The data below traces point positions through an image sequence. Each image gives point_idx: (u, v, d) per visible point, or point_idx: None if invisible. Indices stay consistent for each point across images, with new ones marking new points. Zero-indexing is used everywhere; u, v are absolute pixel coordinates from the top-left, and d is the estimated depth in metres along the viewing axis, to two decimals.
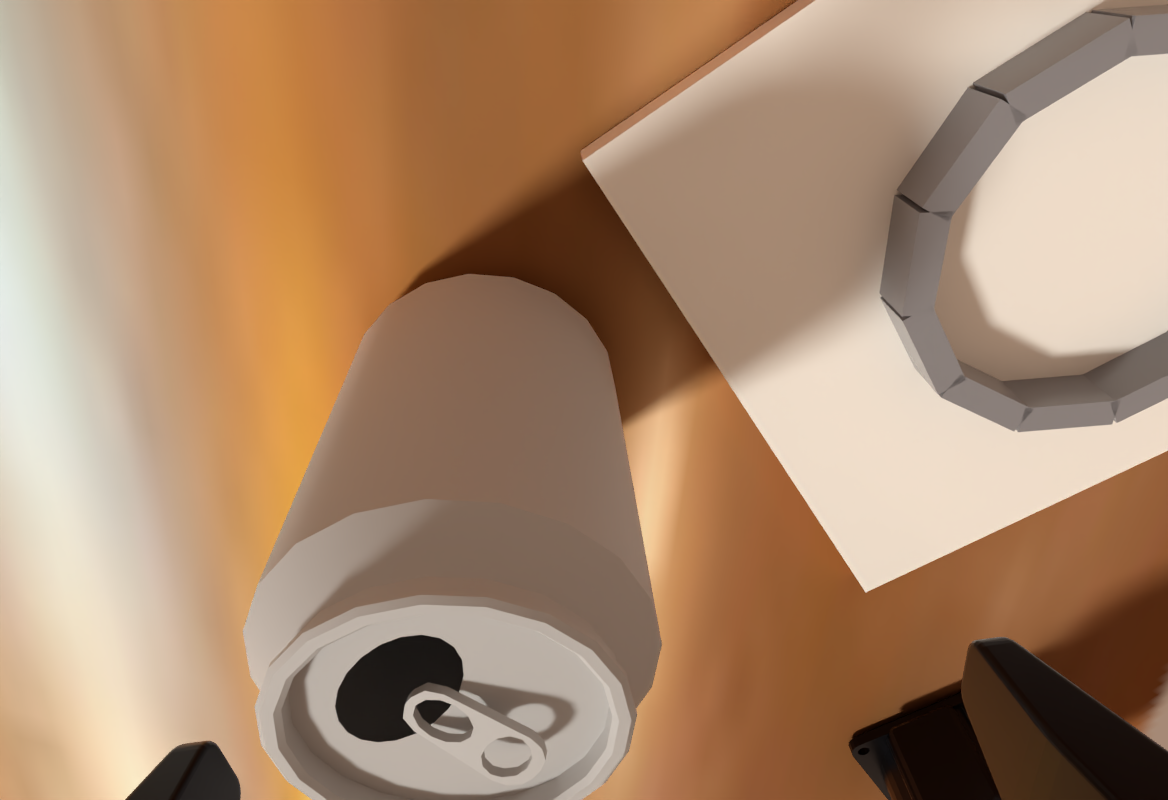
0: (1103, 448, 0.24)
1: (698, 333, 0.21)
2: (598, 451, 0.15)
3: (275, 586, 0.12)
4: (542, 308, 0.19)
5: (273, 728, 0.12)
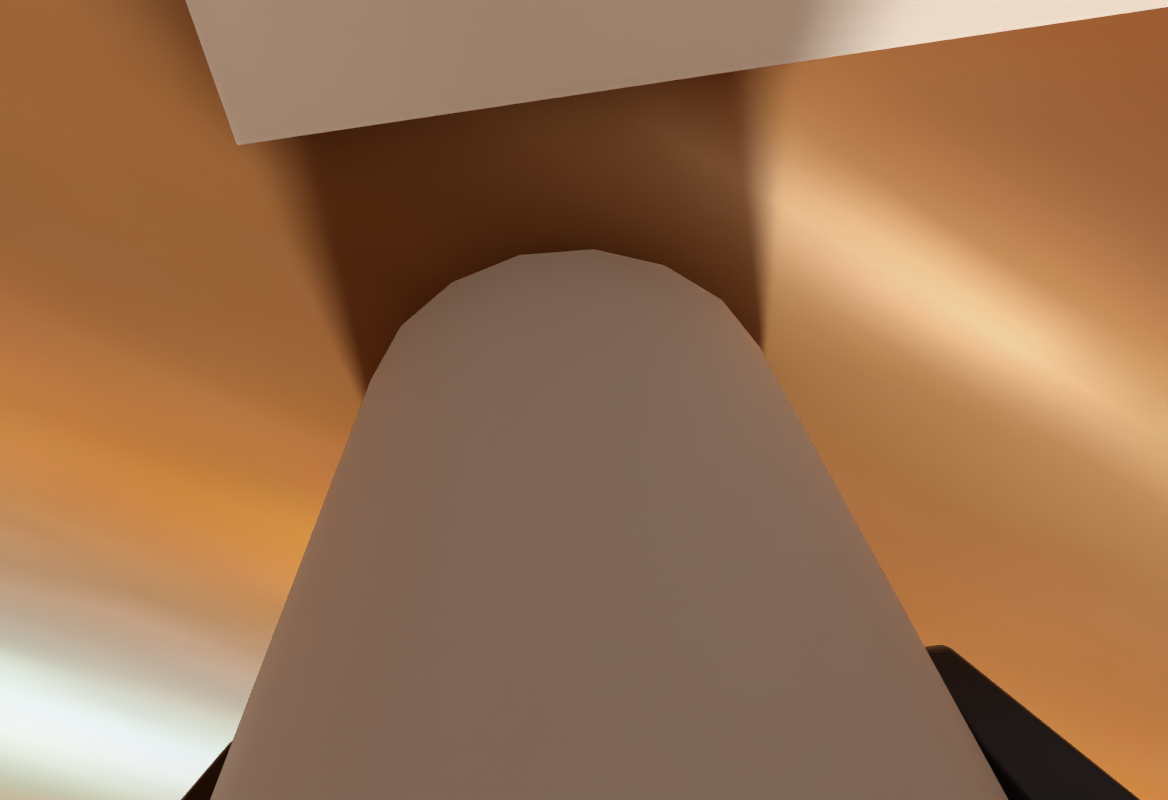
0: None
1: (636, 81, 0.11)
2: (479, 531, 0.07)
3: None
4: (426, 329, 0.11)
5: None
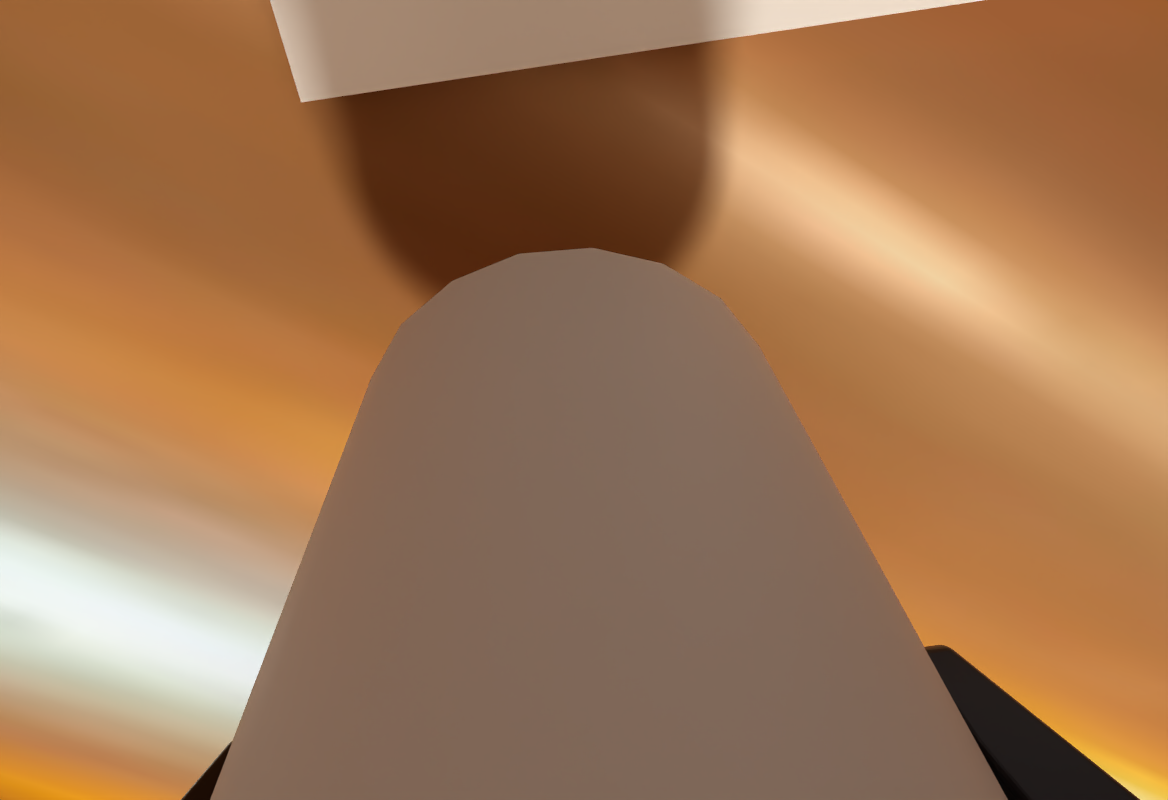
0: None
1: (619, 51, 0.13)
2: (479, 526, 0.07)
3: None
4: (426, 328, 0.11)
5: None
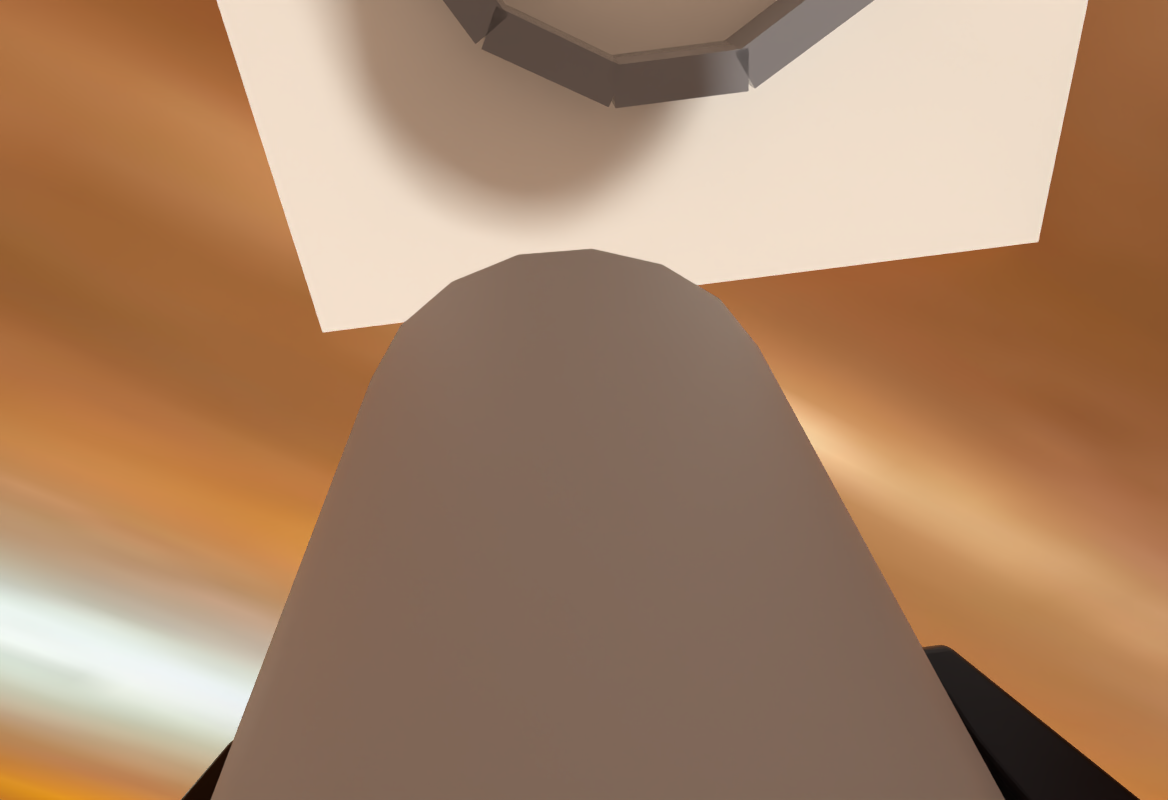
0: None
1: None
2: (478, 527, 0.07)
3: None
4: (426, 329, 0.11)
5: None
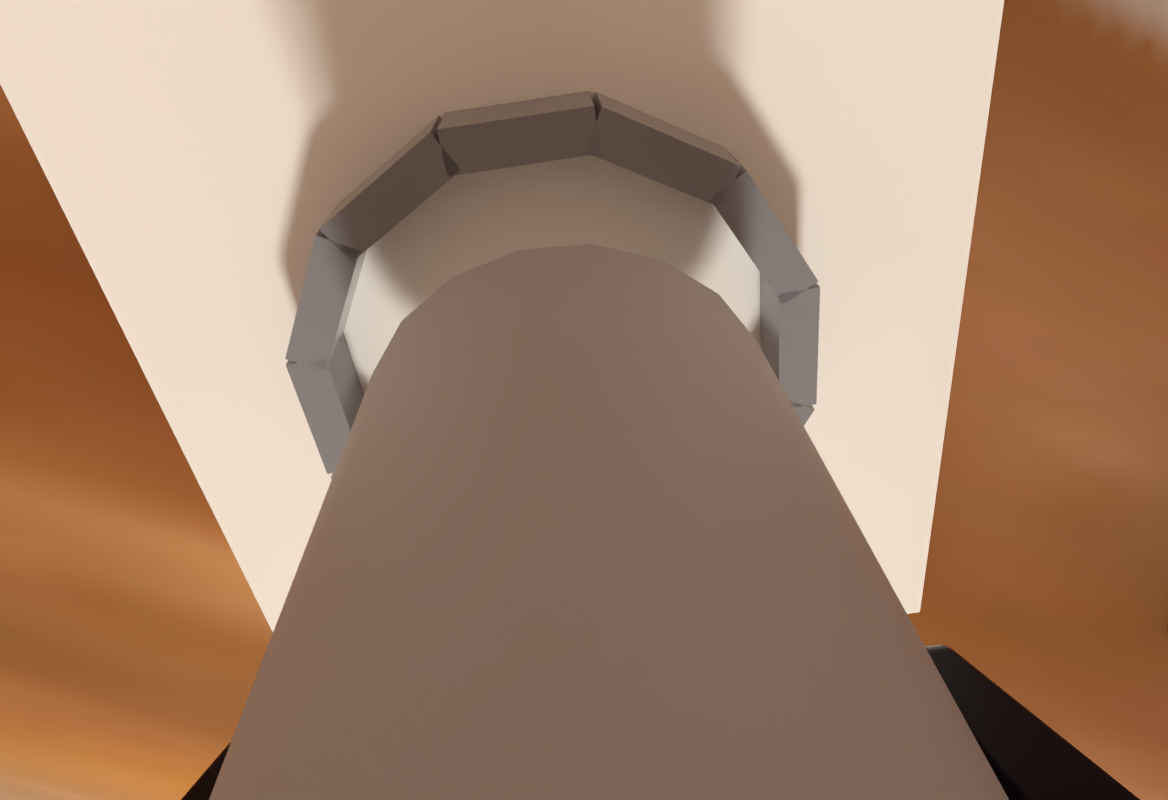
0: (899, 355, 0.18)
1: None
2: (479, 517, 0.07)
3: None
4: (426, 324, 0.11)
5: None
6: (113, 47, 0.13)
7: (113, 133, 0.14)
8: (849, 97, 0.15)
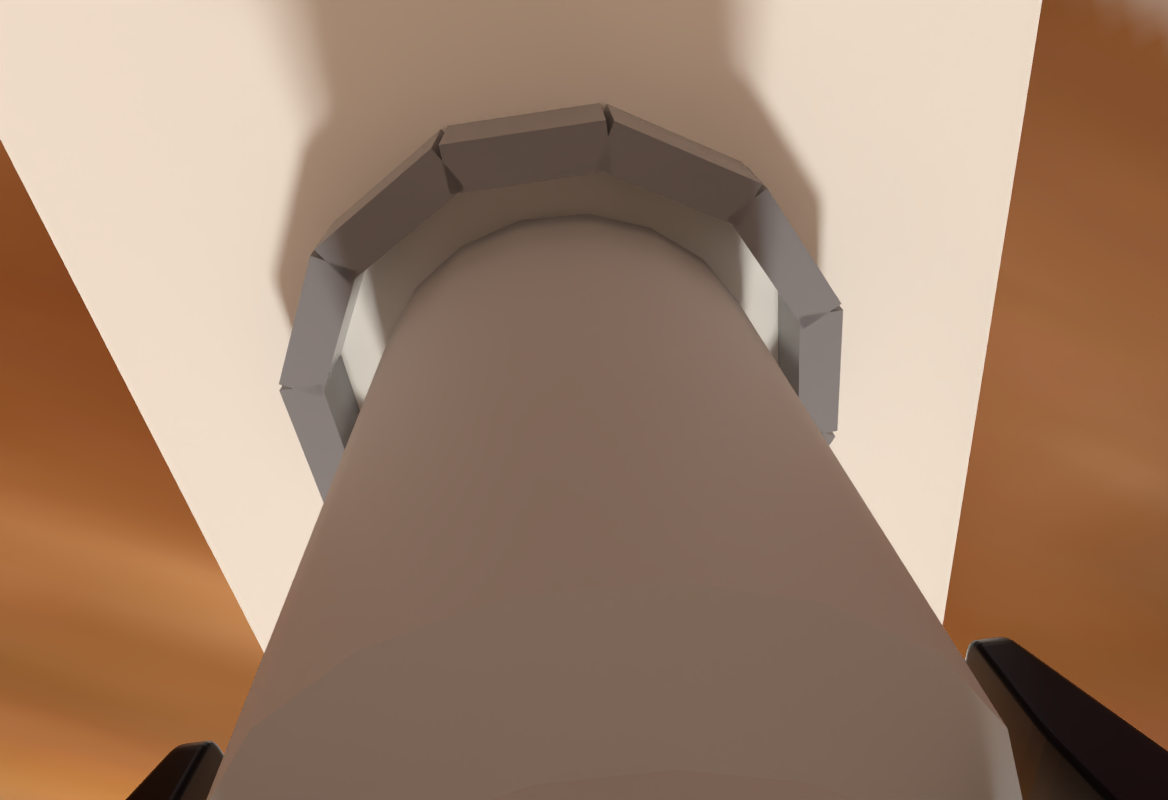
0: (923, 378, 0.17)
1: None
2: (492, 404, 0.08)
3: None
4: (439, 283, 0.13)
5: None
6: (97, 57, 0.13)
7: (98, 147, 0.13)
8: (875, 109, 0.14)
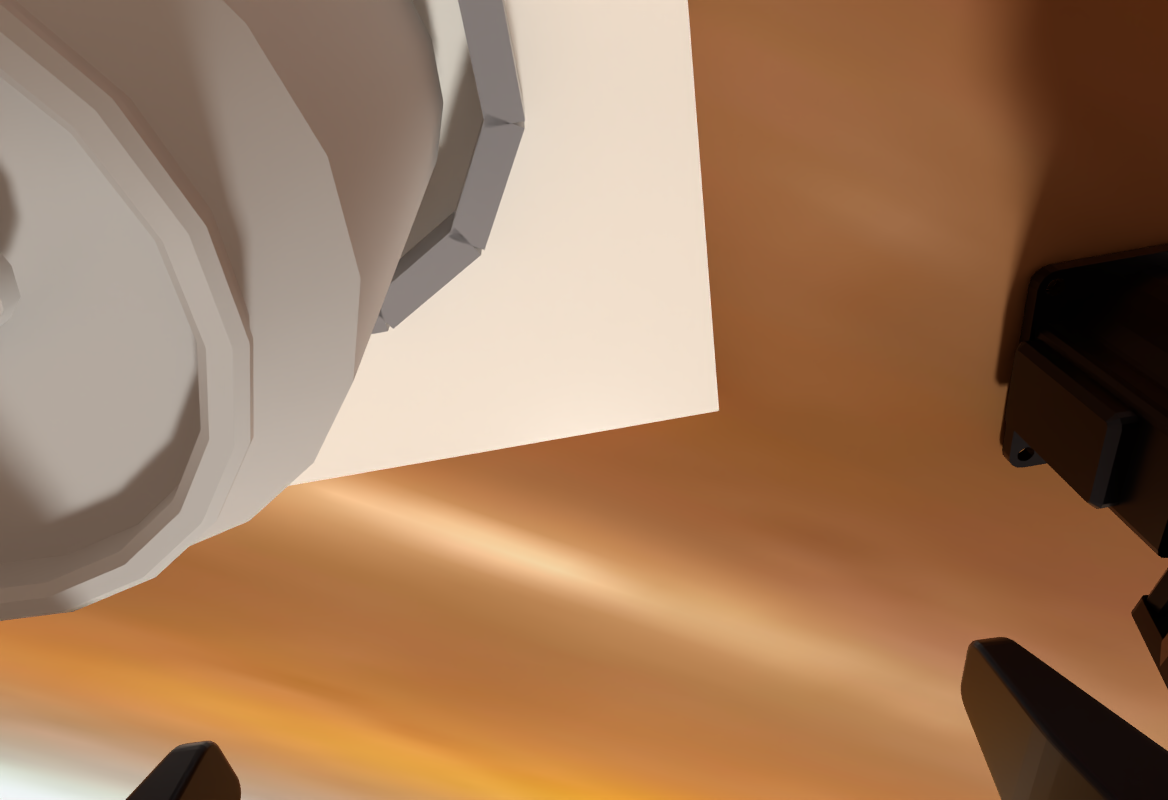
0: (633, 86, 0.16)
1: None
2: None
3: None
4: None
5: None
6: None
7: None
8: None
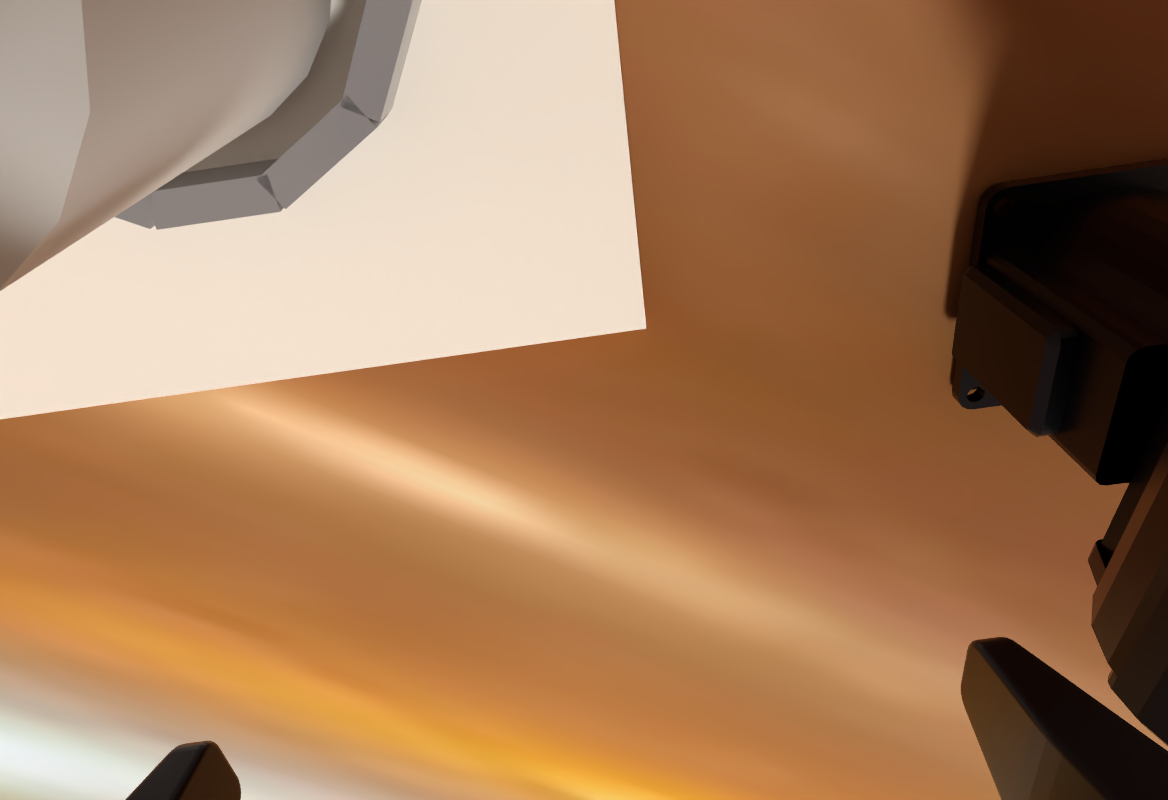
0: None
1: (183, 391, 0.20)
2: None
3: None
4: None
5: None
6: None
7: None
8: None
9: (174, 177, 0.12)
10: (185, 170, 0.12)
